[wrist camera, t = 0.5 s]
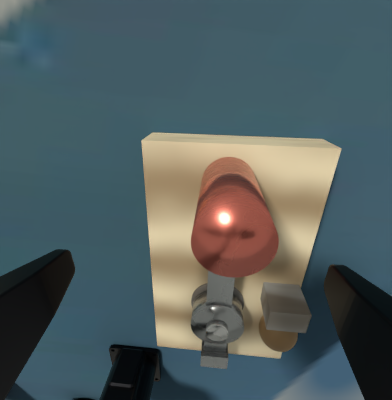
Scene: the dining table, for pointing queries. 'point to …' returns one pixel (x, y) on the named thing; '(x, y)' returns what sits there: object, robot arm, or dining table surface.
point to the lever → (228, 251)
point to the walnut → (277, 338)
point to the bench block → (278, 208)
